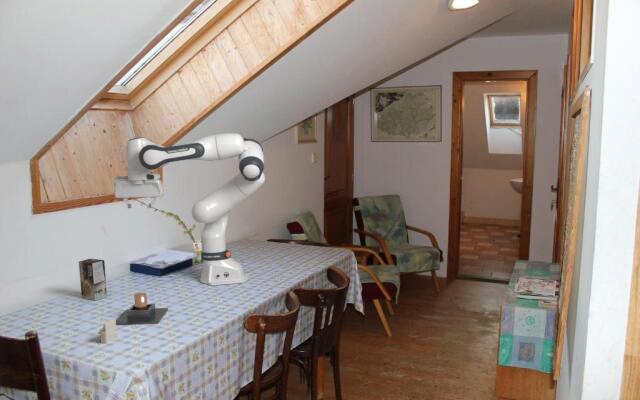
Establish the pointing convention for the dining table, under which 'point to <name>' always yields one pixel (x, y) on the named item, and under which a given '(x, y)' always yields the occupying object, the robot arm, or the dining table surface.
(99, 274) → the coffee box
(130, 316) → the duct collar
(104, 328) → the architectural model
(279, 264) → the dining table surface
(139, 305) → the copper pipe stub
